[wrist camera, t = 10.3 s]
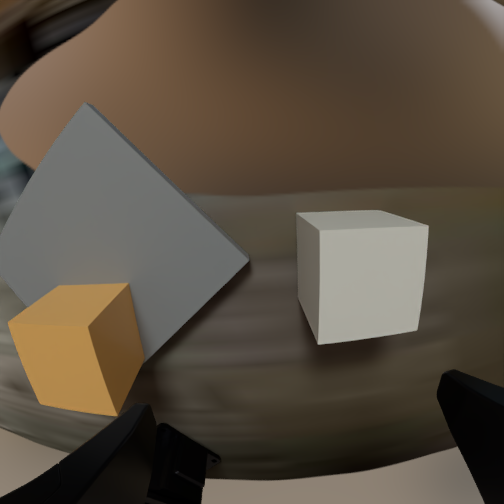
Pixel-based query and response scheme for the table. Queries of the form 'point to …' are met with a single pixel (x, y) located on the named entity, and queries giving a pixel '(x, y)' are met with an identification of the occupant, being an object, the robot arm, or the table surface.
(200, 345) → the table surface
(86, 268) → the plate
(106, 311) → the matte amber box
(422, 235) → the matte ivory cube
